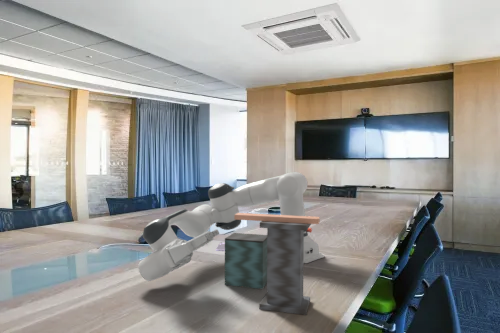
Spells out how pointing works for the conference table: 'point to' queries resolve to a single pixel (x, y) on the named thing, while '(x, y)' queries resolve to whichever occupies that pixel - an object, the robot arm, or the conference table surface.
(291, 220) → the slat
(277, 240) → the tall pedestal
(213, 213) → the robot arm
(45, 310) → the conference table surface
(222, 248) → the mobile phone
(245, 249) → the low pedestal
